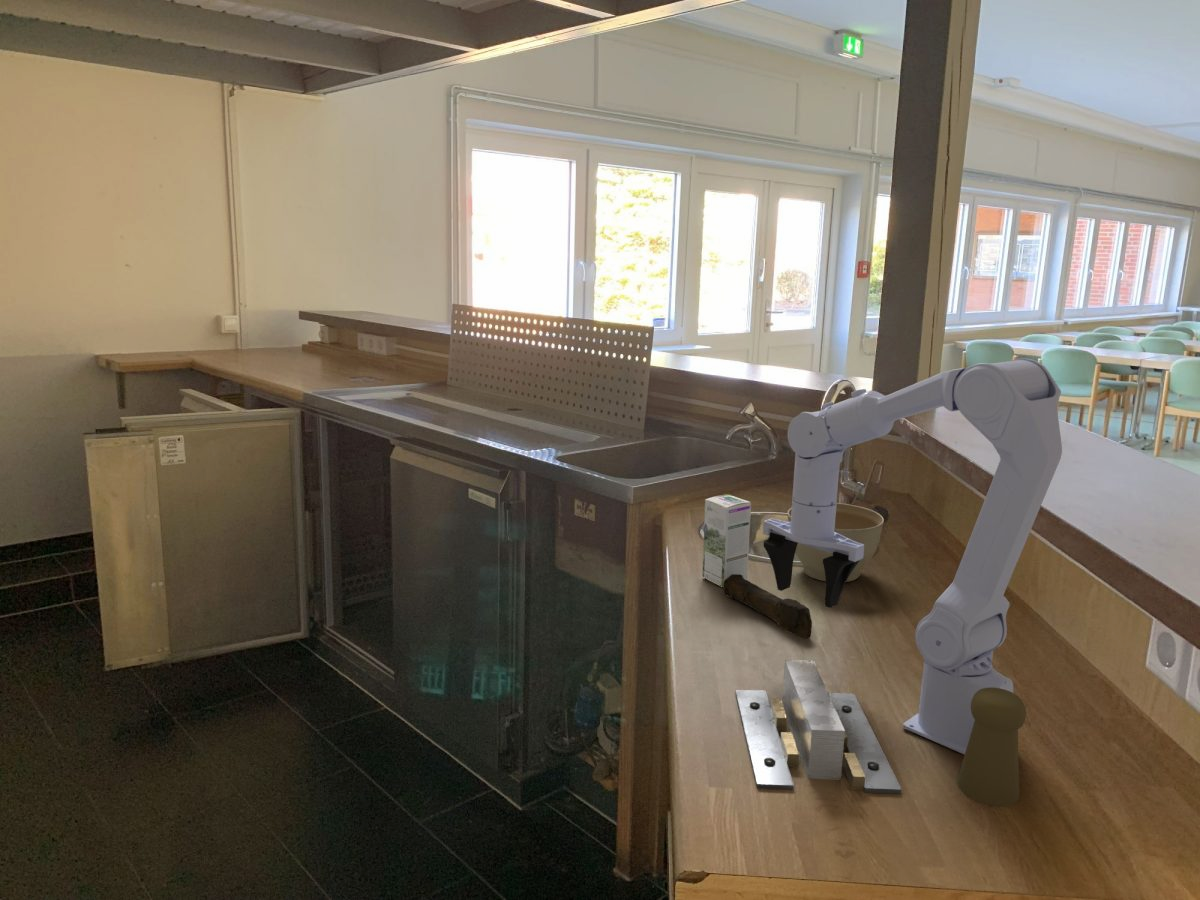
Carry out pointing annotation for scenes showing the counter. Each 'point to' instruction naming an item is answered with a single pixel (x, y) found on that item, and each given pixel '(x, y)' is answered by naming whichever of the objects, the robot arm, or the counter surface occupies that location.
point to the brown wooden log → (770, 605)
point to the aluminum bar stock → (813, 720)
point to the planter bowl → (851, 525)
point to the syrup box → (726, 538)
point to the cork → (993, 748)
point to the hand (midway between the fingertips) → (807, 596)
